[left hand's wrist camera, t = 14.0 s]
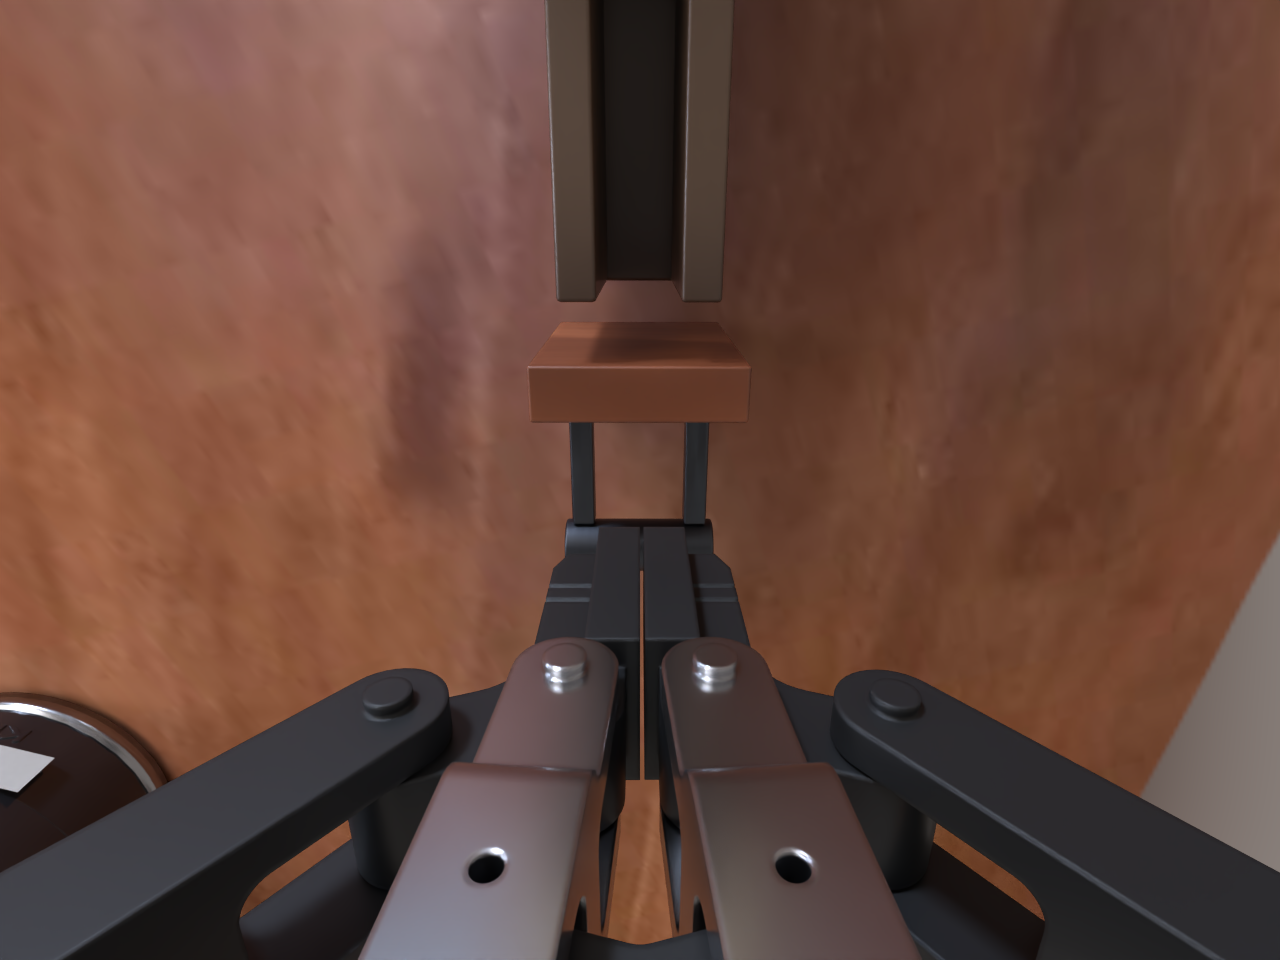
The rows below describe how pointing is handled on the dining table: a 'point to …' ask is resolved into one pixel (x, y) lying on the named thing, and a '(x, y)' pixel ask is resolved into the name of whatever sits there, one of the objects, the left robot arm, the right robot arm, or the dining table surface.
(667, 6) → the drawer
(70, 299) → the dining table surface
